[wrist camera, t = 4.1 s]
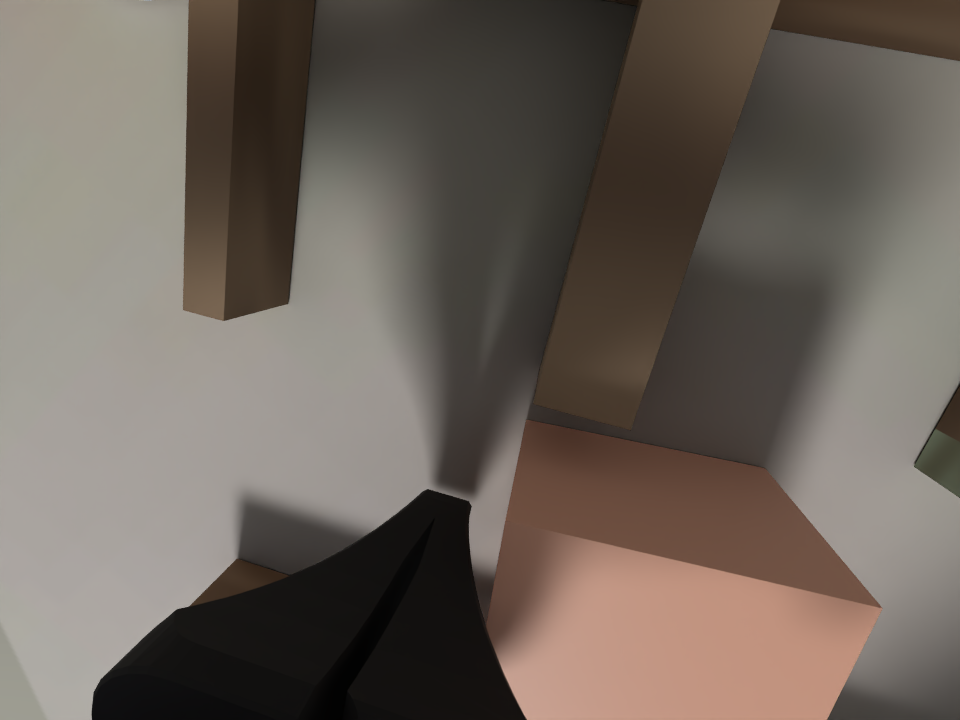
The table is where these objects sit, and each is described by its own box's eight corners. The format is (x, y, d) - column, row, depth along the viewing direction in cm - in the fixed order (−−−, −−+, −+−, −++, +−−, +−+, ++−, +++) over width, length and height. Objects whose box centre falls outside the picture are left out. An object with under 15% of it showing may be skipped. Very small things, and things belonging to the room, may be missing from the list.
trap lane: (1041, 851, 13) (1147, 990, 11) (235, 582, 16) (177, 644, 13) (1733, 115, 7) (2289, 61, 5) (281, -111, 10) (192, -218, 8)
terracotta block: (697, 652, 13) (760, 853, 9) (492, 599, 14) (460, 761, 10) (764, 468, 12) (883, 608, 7) (526, 419, 12) (505, 520, 8)
